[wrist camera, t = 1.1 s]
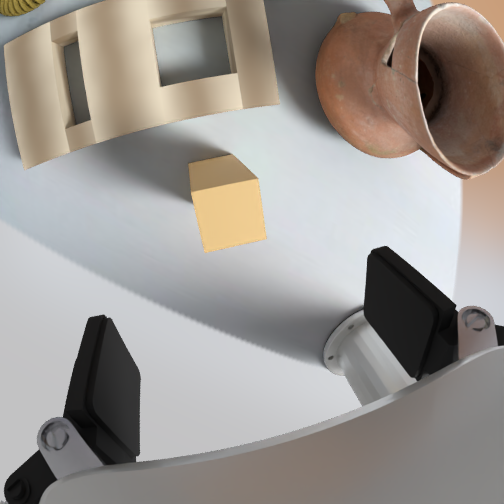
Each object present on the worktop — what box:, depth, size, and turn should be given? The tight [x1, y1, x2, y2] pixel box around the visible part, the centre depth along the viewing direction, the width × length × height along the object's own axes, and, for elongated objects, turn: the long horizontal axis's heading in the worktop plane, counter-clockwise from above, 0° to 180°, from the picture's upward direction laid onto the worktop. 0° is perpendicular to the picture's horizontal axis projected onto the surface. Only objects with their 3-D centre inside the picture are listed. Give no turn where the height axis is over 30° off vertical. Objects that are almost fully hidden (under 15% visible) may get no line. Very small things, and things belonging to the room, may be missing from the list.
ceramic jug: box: [315, 0, 504, 180], centre depth 20 cm, size 18×14×14 cm
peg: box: [188, 154, 267, 253], centre depth 23 cm, size 4×4×10 cm
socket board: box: [4, 0, 280, 170], centre depth 20 cm, size 22×12×3 cm, turn 98°
